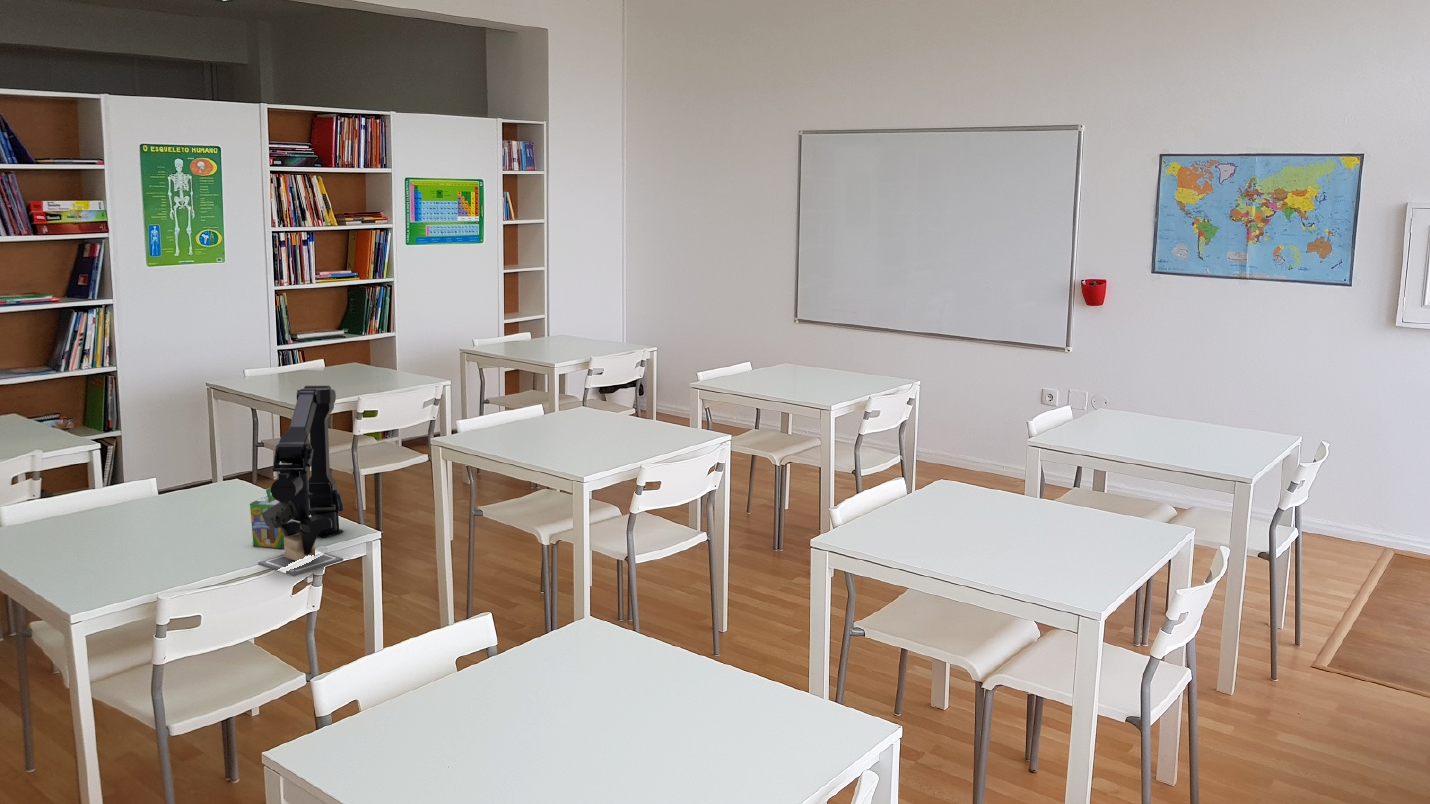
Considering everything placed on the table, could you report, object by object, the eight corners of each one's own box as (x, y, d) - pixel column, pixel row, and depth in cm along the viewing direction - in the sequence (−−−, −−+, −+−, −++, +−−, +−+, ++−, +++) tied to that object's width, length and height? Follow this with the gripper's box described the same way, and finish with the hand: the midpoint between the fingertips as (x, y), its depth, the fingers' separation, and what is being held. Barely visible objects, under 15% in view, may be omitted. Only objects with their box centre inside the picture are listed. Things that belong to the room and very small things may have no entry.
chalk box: (283, 549, 280) (279, 493, 277) (251, 546, 282) (247, 490, 280) (305, 538, 289) (301, 484, 286) (274, 535, 291) (270, 481, 288)
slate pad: (308, 549, 280) (308, 547, 280) (343, 560, 272) (343, 557, 272) (258, 564, 269) (258, 561, 269) (293, 576, 261) (293, 573, 261)
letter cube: (302, 551, 274) (301, 531, 273) (315, 555, 271) (314, 535, 270) (285, 557, 270) (283, 537, 269) (297, 561, 267) (296, 541, 266)
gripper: (243, 491, 266) (248, 553, 269) (290, 504, 256) (294, 569, 259) (284, 481, 275) (288, 541, 278) (331, 494, 265) (335, 556, 268)
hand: (300, 552), depth 270 cm, fingers closed on letter cube, 5 cm apart
